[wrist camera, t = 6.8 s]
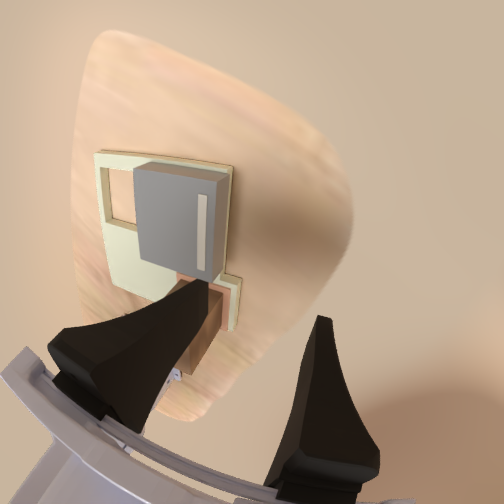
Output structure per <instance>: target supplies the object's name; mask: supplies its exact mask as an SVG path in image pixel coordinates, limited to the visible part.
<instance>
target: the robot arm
mask: <svg viewBox="0 0 504 504" xmlns="http://www.w3.org/2000/svg"><path fill="white" fill-rule="evenodd" d="M208 295H209V282H206V281H203V280H200V279H195V280H194V281H192V282H190V283H188V284H187V285H185V286H183V287H182V288H180V289H178V290H176V291H175V292H173V293H171V294H169V295H168V296H166V297H164V298H162V299H160V300H158V301H156V302H154V303H152V304H150V305H148V306H146V307H144V308H142V309H140V310H138V311H135V312H133V313H130V314H127V315H123V316H122V317H119V318H115V319H112V320H109V321H105V322H101V323H97V324H92V325H87V326H80V327H72V328H64V329H63V330H62V331H61V332H60V333H59V334H58V335H57V336H56V337H55V338H54V339H53V340H52V341H51V342H50V343H49V344H48V346H47V347H48V351H49V353H50V355H51V357H52V358H53V360H54V361H55V363H56V365H57V366H58V367H59V369H60V372H59V373H58V374H57V375H56V376H55V375H53V374H52V373H51V372H50V371H49V370H48V369H46V367H45V365H44V363H43V362H42V361H41V360H40V358H39V357H38V356H37V355H36V354H35V353H34V352H33V351H32V350H31V349H30V348H29V347H27V346H26V347H25V348H24V349H23V350H22V351H21V352H20V353H19V354H18V355H17V356H16V357H15V358H14V359H13V360H12V361H11V363H10V364H9V365H8V366H7V367H6V368H5V369H4V370H3V371H2V372H1V373H0V377H1V378H2V379H3V381H4V382H5V383H6V384H7V385H8V387H9V388H10V389H11V390H12V391H13V393H14V394H15V395H16V396H17V397H18V399H19V400H20V401H21V402H22V403H23V404H24V405H25V407H26V408H27V409H28V410H29V411H30V412H31V413H32V414H33V415H34V416H35V417H36V418H37V419H38V420H39V421H40V422H41V423H42V424H43V425H44V426H45V427H46V428H47V429H48V430H49V431H50V433H51V436H52V439H53V443H52V444H51V446H50V447H49V448H48V450H47V451H46V452H45V454H44V455H43V456H42V458H41V459H40V460H39V462H38V463H37V464H36V466H35V467H34V468H33V470H32V471H31V472H30V474H29V475H28V477H27V478H26V479H25V481H24V482H23V483H22V485H21V486H20V488H19V489H18V490H17V492H16V493H15V495H14V496H13V497H12V499H11V500H10V502H9V503H8V504H231V503H228V502H225V501H223V500H220V499H218V498H215V497H213V496H210V495H208V494H205V493H203V492H201V491H198V490H196V489H194V488H191V487H189V486H187V485H185V484H183V483H181V482H178V481H177V480H174V479H172V478H170V477H168V476H166V475H164V474H162V473H160V472H158V471H157V470H155V469H153V468H151V467H149V466H147V465H145V464H143V463H141V462H140V461H138V460H136V459H134V458H133V457H131V456H130V453H131V452H133V450H135V451H137V452H139V453H141V454H143V455H144V456H146V457H148V458H150V459H152V460H154V461H156V462H158V463H160V464H161V465H163V466H165V467H167V468H170V469H172V470H174V471H176V472H178V473H180V474H182V475H185V476H187V477H189V478H192V479H194V480H196V481H199V482H201V483H204V484H206V485H209V486H212V487H214V488H217V489H220V490H222V491H226V492H228V493H231V494H234V495H238V496H241V497H244V498H248V499H251V500H247V499H242V498H236V499H235V501H234V503H233V504H415V503H416V499H414V498H413V499H390V500H384V501H382V502H380V503H370V502H356V498H357V494H358V493H359V492H360V491H361V488H362V484H363V483H365V482H367V481H370V480H371V479H373V478H375V477H376V476H378V474H379V468H380V450H379V449H378V447H377V446H376V444H375V443H374V441H373V439H372V438H371V436H370V435H369V433H368V431H367V429H366V428H365V426H364V424H363V422H362V420H361V418H360V416H359V414H358V412H357V410H356V408H355V406H354V404H353V401H352V399H351V396H350V394H349V391H348V388H347V386H346V383H345V380H344V377H343V373H342V370H341V366H340V362H339V358H338V354H337V349H336V344H335V339H334V332H333V323H332V322H333V321H332V319H331V318H328V317H324V316H320V315H318V316H317V318H316V321H315V324H314V327H313V329H312V332H311V335H310V337H309V340H308V342H307V345H306V348H305V352H304V355H303V359H302V362H301V366H300V372H299V377H298V383H297V387H296V392H295V397H294V402H293V406H292V410H291V414H290V417H289V420H288V423H287V426H286V429H285V431H284V434H283V437H282V440H281V442H280V445H279V448H278V450H277V453H276V455H275V458H274V461H273V463H272V465H271V468H270V470H269V473H268V475H267V477H266V479H265V482H264V484H263V486H262V485H259V484H255V483H252V482H248V481H245V480H241V479H239V478H236V477H233V476H230V475H227V474H224V473H221V472H218V471H216V470H213V469H210V468H208V467H205V466H203V465H200V464H198V463H196V462H193V461H191V460H189V459H186V458H184V457H182V456H180V455H178V454H175V453H173V452H171V451H169V450H167V449H165V448H163V447H161V446H159V445H157V444H155V443H153V442H151V441H150V440H148V439H146V438H144V437H143V435H144V432H145V422H146V420H147V418H148V415H149V413H150V412H151V411H152V410H153V409H154V408H155V407H156V405H157V404H158V402H159V401H160V399H161V398H162V396H163V395H164V393H165V392H166V390H167V389H168V387H169V385H170V384H171V382H172V381H173V379H176V380H178V381H180V380H181V379H182V378H181V372H180V370H178V369H176V368H173V367H174V366H175V364H176V363H177V361H178V360H179V358H180V357H181V356H182V354H183V353H184V352H185V350H186V349H187V347H188V346H189V345H190V343H191V342H192V340H193V339H194V338H195V336H196V335H197V333H198V332H199V330H200V329H201V327H202V325H203V323H204V321H205V319H206V317H207V315H208ZM252 500H254V501H252Z"/></svg>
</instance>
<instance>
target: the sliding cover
mask: <svg viewBox="0 0 504 504" xmlns="http://www.w3.org/2000/svg"><path fill="white" fill-rule="evenodd" d="M133 179H134V197H135V211H136V223H137V233H138V242H139V251H140V259H142V260H145V261H147V262H150V263H153V264H156V265H159V266H162V267H165V268H168V269H170V270H173V271H176V272H179V273H182V274H185V275H188V276H191V277H194V278H197V279H200V280H203V281H207V282H210V283H213V281H214V280H215V279H216V277H217V276H218V275H219V274H220V272H221V271H222V270H223V263H224V248H225V233H226V219H227V206H228V193H229V181H230V174H227V173H222V172H216V171H210V170H204V169H198V168H192V167H185V166H179V165H172V164H165V163H157V162H148V163H145V164H143V165H140V166H138V167H135V168H133Z"/></svg>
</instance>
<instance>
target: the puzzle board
mask: <svg viewBox="0 0 504 504" xmlns="http://www.w3.org/2000/svg"><path fill="white" fill-rule="evenodd" d="M148 162H157V163H165V164H172V165H179V166H185V167H192V168H198V169H204V170H210V171H216V172H222V173H227V174H230V181H229V193H228V206H227V219H226V233H225V248H224V263H223V270H222V271H221V272H220V274H219V275H218V276H217V277H216V279H215V280H214V281H213V283H210V282H209V288H210V289H213V290H216V291H219V292H222V293H223V307H222V323H221V327H220V329H222V330H224V331H227V330H229V331H232V332H233V330H234V329H235V327H236V325H237V317H238V308H239V298H240V289H241V280H242V279H241V278H238V277H234V276H231V275H228V274H225V262H226V247H227V233H228V220H229V208H230V195H231V184H232V172H233V166H228V165H222V164H216V163H210V162H203V161H197V160H190V159H182V158H175V157H167V156H158V155H149V154H139V153H129V152H117V151H103V150H101V151H98V152H95V153H94V165H95V177H96V188H97V197H98V205H99V213H100V220H101V227H102V233H103V239H104V245H105V250H106V255H107V260H108V265H109V270H110V274H111V279H112V283H113V284H114V285H116V286H118V287H120V288H122V289H125V290H127V291H129V292H132V293H134V294H136V295H138V296H141V297H143V298H145V299H148V300H150V301H153V302H156V301H158V300H160V299H162V298H164V297H165V296H166V294H167V293H168V292H169V291H170V290H171V289H172V288H173V287H174V286H175V285H176V284H177V282H178V281H179V280H180V279H183V280H186V281H189V282H192V281H194V280H195V279H197V278H194V277H191V276H188V275H185V274H182V273H179V272H176V271H173V270H170V269H168V268H165V267H162V266H159V265H156V264H153V263H150V262H147V261H145V260H142V259H140V251H139V242H138V233H137V225H134V224H130V223H127V222H123V221H120V220H116V219H113V218H112V210H111V201H110V191H109V179H108V168H112V169H120V170H127V171H133V168H135V167H138V166H140V165H143V164H145V163H148ZM206 282H207V281H206Z"/></svg>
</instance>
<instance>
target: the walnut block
mask: <svg viewBox="0 0 504 504" xmlns="http://www.w3.org/2000/svg"><path fill="white" fill-rule="evenodd" d="M188 283H190V282H189V281H186V280H183V279H180V280H179V281H178V282H177V284H176V285H175V286H174V287H173V288H172V289H171V290H170V291H169V292H168V293H167V294H166V296H168V295H169V294H171V293H173V292H175V291H176V290H178V289H180V288H182V287H183V286H185V285H187V284H188ZM166 296H165V297H166ZM222 307H223V293H222V292H219V291H216V290H213V289H210V288H209V295H208V315H207V317H206V319H205V321H204V323H203V325H202V327H201V329H200V330H199V332H198V333H197V335H196V336H195V338H194V339H193V340H192V342H191V343H190V345H189V346H188V347H187V349H186V350H185V352H184V353H183V354H182V356H181V357H180V358H179V360H178V361H177V363H176V364H175V366H174V367H173V368H176V369H178V370H180V371H182V372H185V373H187V374H189V375H192V373H193V372H194V370H195V369H196V367H197V365H198V364H199V362H200V360H201V359H202V357H203V355H204V354H205V352H206V351H207V349H208V347H209V346H210V344H211V342H212V341H213V339H214V337H215V336H216V334H217V332H218V331H219V329H220V327H221V323H222Z"/></svg>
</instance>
